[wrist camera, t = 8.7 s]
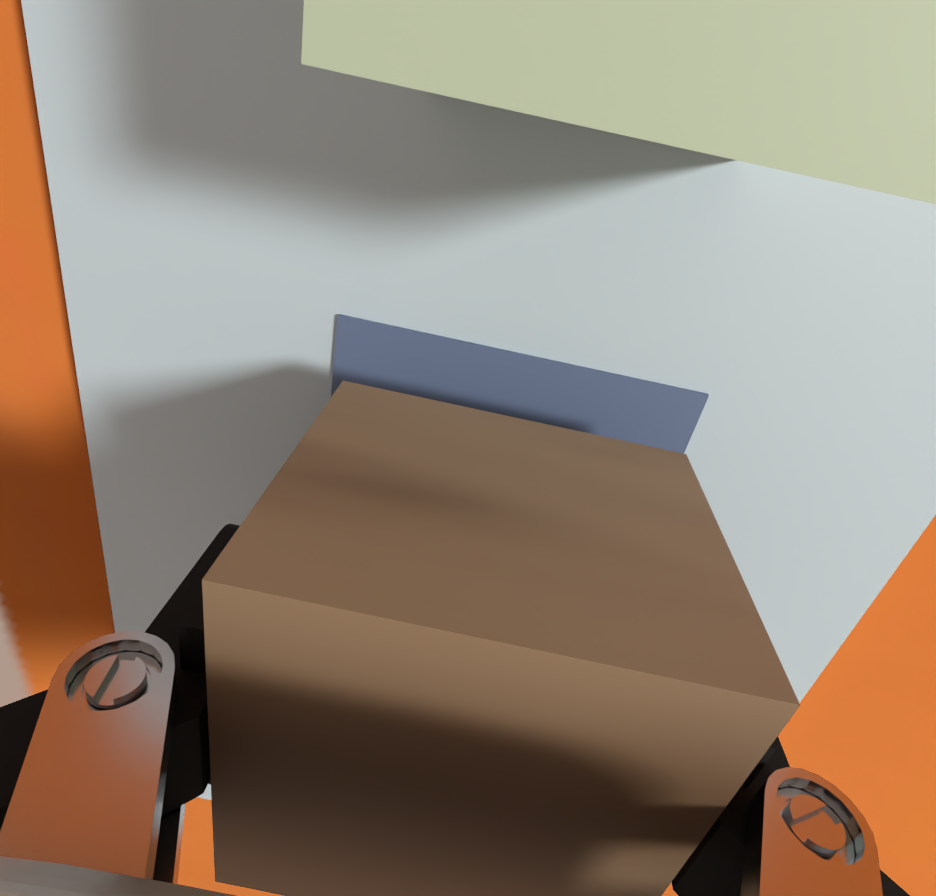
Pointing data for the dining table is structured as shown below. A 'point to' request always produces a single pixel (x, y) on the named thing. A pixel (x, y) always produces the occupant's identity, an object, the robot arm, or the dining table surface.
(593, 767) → the walnut block
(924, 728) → the dining table surface
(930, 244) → the board
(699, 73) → the sage block
